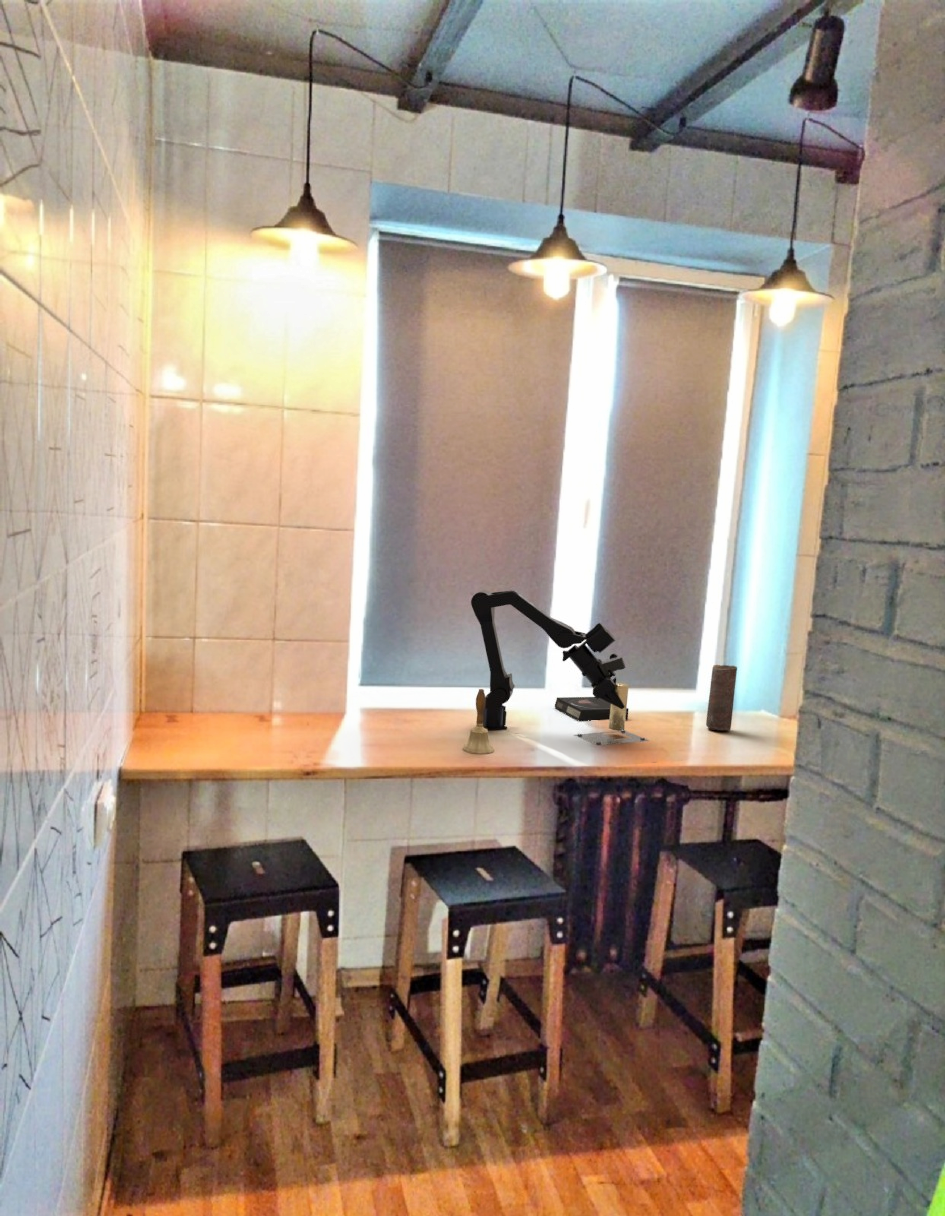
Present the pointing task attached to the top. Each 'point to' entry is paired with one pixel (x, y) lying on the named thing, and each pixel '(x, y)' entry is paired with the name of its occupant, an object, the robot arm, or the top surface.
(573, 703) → the portable cd player
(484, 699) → the hand bell
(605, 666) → the robot arm
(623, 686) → the disc
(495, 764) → the top surface
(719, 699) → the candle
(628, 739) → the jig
